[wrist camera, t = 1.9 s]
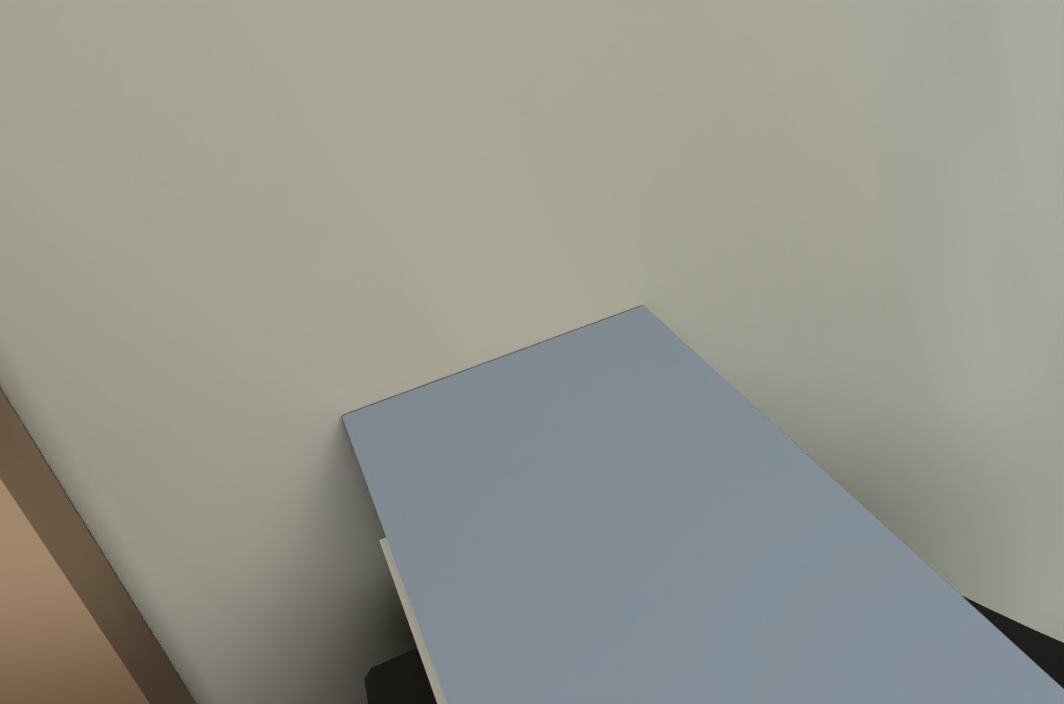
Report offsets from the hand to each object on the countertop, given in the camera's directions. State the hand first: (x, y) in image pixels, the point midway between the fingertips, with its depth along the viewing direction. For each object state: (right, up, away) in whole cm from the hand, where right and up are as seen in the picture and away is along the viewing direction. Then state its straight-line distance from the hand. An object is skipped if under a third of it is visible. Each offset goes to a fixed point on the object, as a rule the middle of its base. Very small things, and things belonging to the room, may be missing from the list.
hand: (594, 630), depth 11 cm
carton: (-1, +1, +2) cm, 2 cm away
